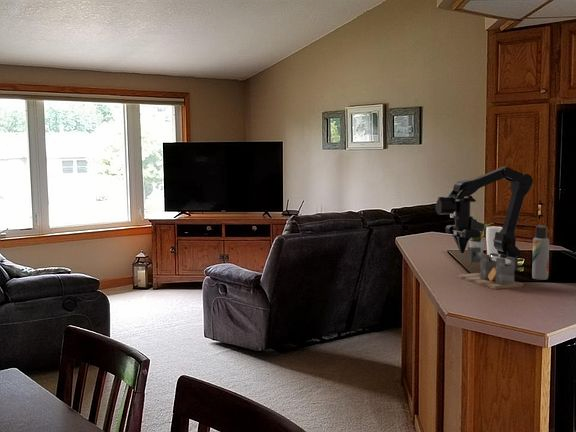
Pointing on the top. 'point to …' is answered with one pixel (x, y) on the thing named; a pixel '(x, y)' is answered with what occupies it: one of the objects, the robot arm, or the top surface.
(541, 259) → the lotion bottle
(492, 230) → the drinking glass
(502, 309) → the top surface
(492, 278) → the spacer
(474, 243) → the house plant
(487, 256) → the shaft stand
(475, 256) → the shaft
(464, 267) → the top surface
